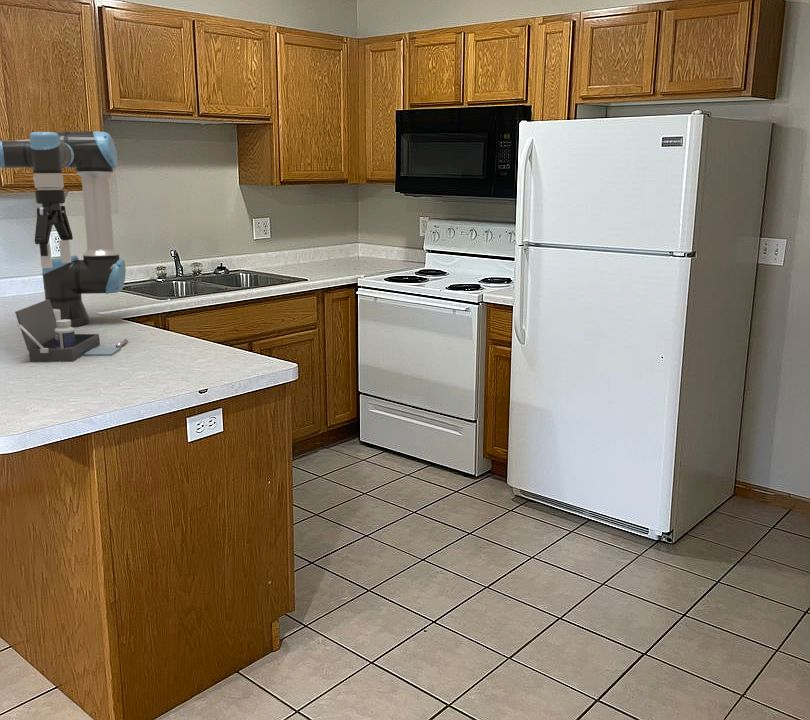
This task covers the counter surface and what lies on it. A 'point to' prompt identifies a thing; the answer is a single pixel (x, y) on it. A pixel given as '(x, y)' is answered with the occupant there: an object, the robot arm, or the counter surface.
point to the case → (49, 335)
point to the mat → (102, 352)
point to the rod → (122, 343)
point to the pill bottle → (64, 334)
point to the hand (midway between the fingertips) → (56, 265)
